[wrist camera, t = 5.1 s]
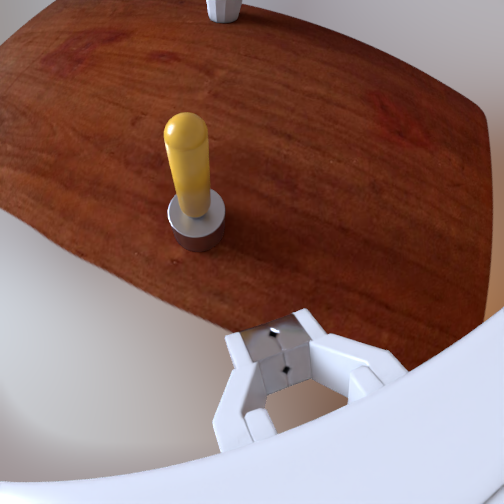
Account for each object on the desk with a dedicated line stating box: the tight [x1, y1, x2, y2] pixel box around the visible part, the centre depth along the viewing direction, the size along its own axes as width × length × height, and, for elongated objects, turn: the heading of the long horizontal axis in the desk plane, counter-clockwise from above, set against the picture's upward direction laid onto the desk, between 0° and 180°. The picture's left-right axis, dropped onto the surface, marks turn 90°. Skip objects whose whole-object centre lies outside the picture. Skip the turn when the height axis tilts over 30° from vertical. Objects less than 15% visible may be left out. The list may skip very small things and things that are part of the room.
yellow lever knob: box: [164, 112, 225, 252], centre depth 22 cm, size 5×5×14 cm
